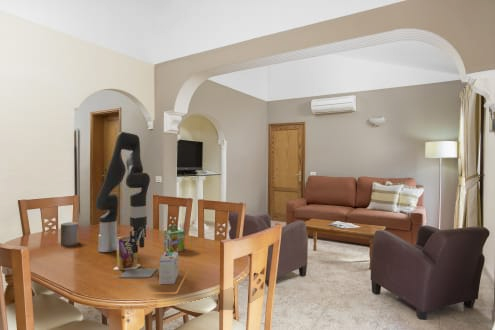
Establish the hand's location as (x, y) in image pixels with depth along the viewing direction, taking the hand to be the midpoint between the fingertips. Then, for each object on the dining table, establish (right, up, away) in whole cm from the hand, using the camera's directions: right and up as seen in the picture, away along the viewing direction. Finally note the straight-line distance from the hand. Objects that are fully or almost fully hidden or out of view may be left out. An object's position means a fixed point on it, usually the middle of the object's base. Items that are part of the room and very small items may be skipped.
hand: (138, 250), depth 141 cm
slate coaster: (0, -11, 0) cm, 11 cm away
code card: (-9, -11, +9) cm, 17 cm away
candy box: (-9, -11, +9) cm, 17 cm away
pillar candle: (-62, -11, +51) cm, 81 cm away
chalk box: (+8, -11, +37) cm, 40 cm away
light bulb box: (+16, -11, -7) cm, 21 cm away
